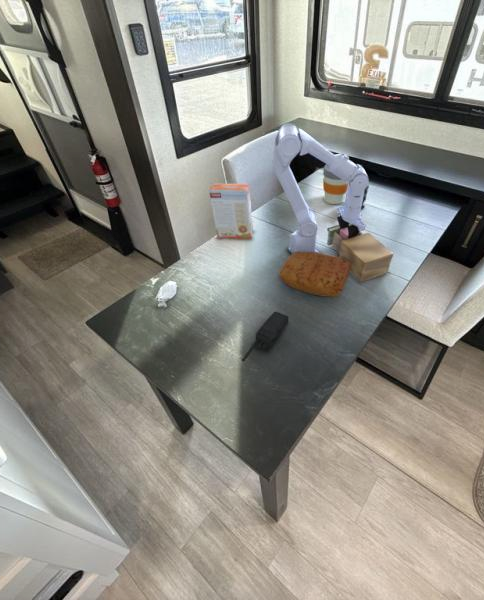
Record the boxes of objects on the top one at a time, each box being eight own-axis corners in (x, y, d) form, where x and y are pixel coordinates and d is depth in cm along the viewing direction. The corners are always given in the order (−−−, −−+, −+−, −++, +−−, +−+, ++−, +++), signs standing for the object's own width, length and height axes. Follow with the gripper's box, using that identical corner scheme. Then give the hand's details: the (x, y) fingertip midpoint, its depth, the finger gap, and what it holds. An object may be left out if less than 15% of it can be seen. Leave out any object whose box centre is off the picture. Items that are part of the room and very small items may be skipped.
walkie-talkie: (294, 321, 93) (261, 370, 79) (281, 326, 97) (247, 373, 84) (282, 305, 91) (246, 352, 78) (269, 311, 96) (232, 357, 82)
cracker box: (253, 231, 130) (249, 182, 115) (251, 239, 126) (247, 190, 111) (220, 230, 131) (212, 182, 116) (217, 238, 127) (208, 189, 112)
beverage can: (360, 212, 138) (365, 186, 129) (346, 208, 141) (350, 182, 132) (366, 206, 141) (372, 180, 133) (353, 202, 144) (358, 177, 136)
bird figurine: (175, 309, 102) (180, 283, 107) (164, 299, 96) (170, 272, 101) (161, 310, 103) (167, 285, 108) (150, 300, 97) (157, 274, 102)
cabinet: (338, 260, 116) (341, 240, 109) (364, 251, 119) (368, 232, 112) (359, 282, 107) (364, 263, 101) (387, 272, 110) (393, 253, 104)
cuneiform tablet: (352, 276, 109) (356, 258, 103) (336, 309, 99) (339, 291, 93) (294, 259, 116) (295, 242, 110) (273, 288, 106) (273, 270, 100)
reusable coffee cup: (316, 195, 150) (319, 163, 139) (340, 190, 152) (344, 159, 141) (327, 208, 141) (331, 175, 131) (352, 203, 144) (358, 170, 133)
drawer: (321, 238, 124) (322, 223, 119) (343, 231, 126) (346, 217, 121) (344, 262, 113) (347, 247, 108) (368, 254, 116) (372, 239, 111)
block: (345, 245, 115) (346, 235, 112) (338, 239, 118) (340, 229, 115) (355, 242, 116) (357, 232, 113) (348, 236, 119) (350, 226, 116)
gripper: (376, 211, 102) (368, 245, 112) (350, 192, 112) (345, 225, 122) (358, 216, 101) (351, 250, 110) (333, 197, 110) (329, 230, 120)
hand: (347, 237), depth 116 cm, fingers closed on block, 4 cm apart
